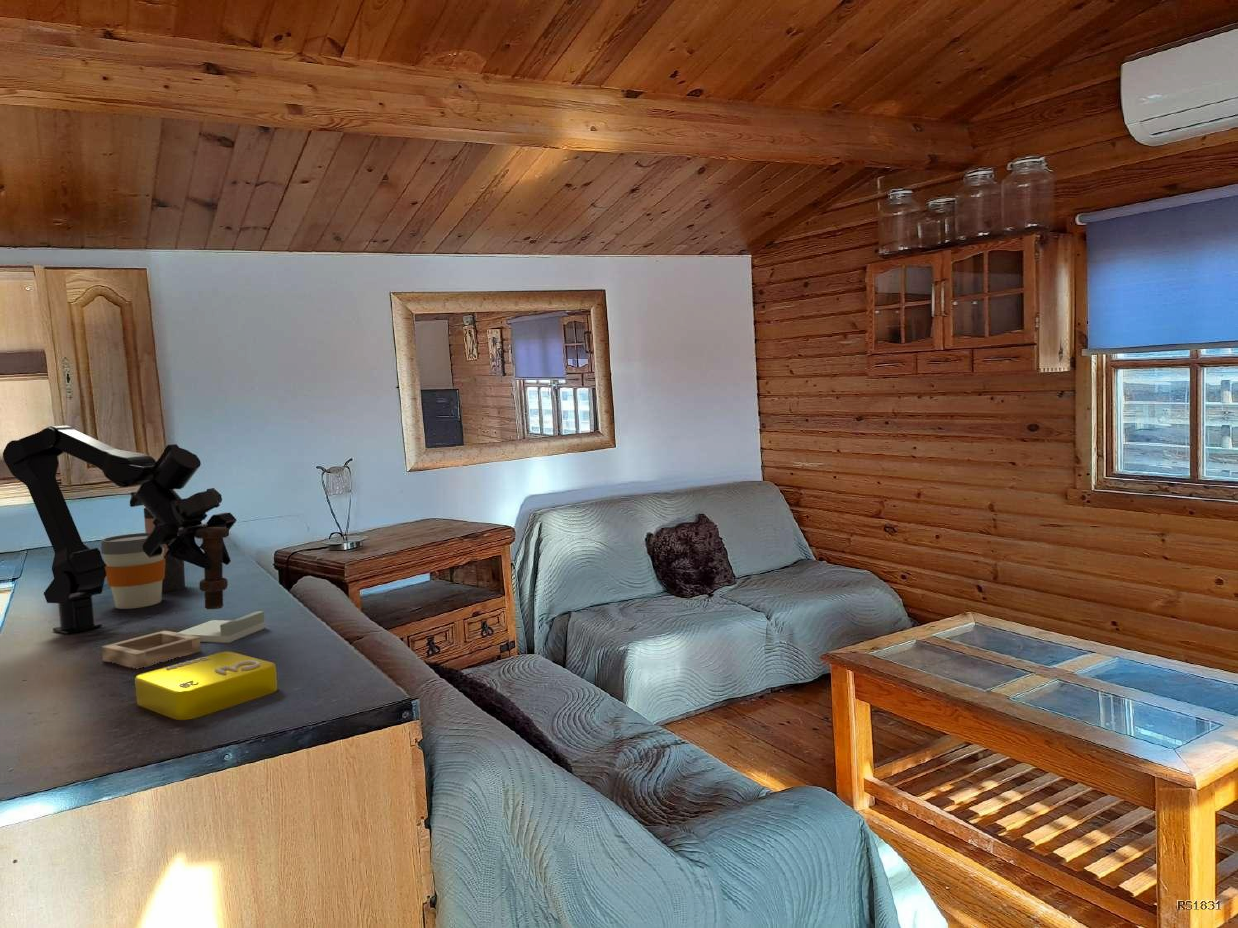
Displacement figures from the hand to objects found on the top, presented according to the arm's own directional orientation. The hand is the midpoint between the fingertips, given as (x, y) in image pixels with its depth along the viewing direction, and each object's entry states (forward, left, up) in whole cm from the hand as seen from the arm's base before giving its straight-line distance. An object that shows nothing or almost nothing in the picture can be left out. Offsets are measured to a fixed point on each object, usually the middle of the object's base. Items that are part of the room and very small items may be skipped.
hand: (219, 565), depth 162 cm
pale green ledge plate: (-1, 0, -13) cm, 13 cm away
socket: (+1, -14, -13) cm, 19 cm away
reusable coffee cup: (-44, +8, -13) cm, 47 cm away
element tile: (+30, -22, -14) cm, 40 cm away
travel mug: (-53, +20, -13) cm, 58 cm away
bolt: (-1, -1, -8) cm, 8 cm away
